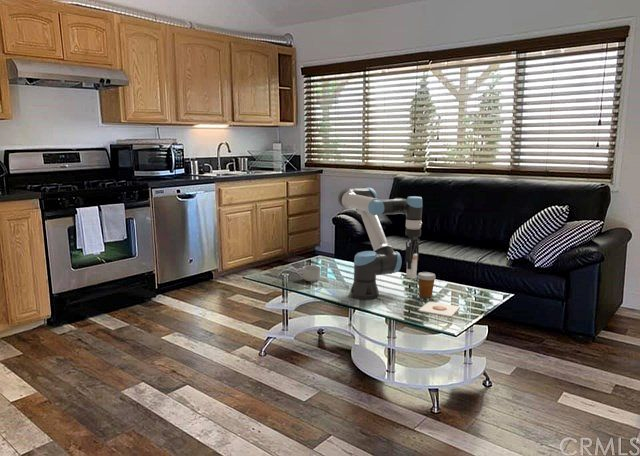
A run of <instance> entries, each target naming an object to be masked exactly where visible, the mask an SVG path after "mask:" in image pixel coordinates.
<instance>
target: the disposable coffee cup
mask: <svg viewBox="0 0 640 456" xmlns="http://www.w3.org/2000/svg"><path fill="white" fill-rule="evenodd" d="M416 278H417V279H418V292H419V296H420V297H421V298H431V297H432V296H433V291H434V290H433V289H434V285H435V280H436V278H437V277H436V274H435V273H433V272H429V271H422V272H418V273H417V275H416Z"/></svg>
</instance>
